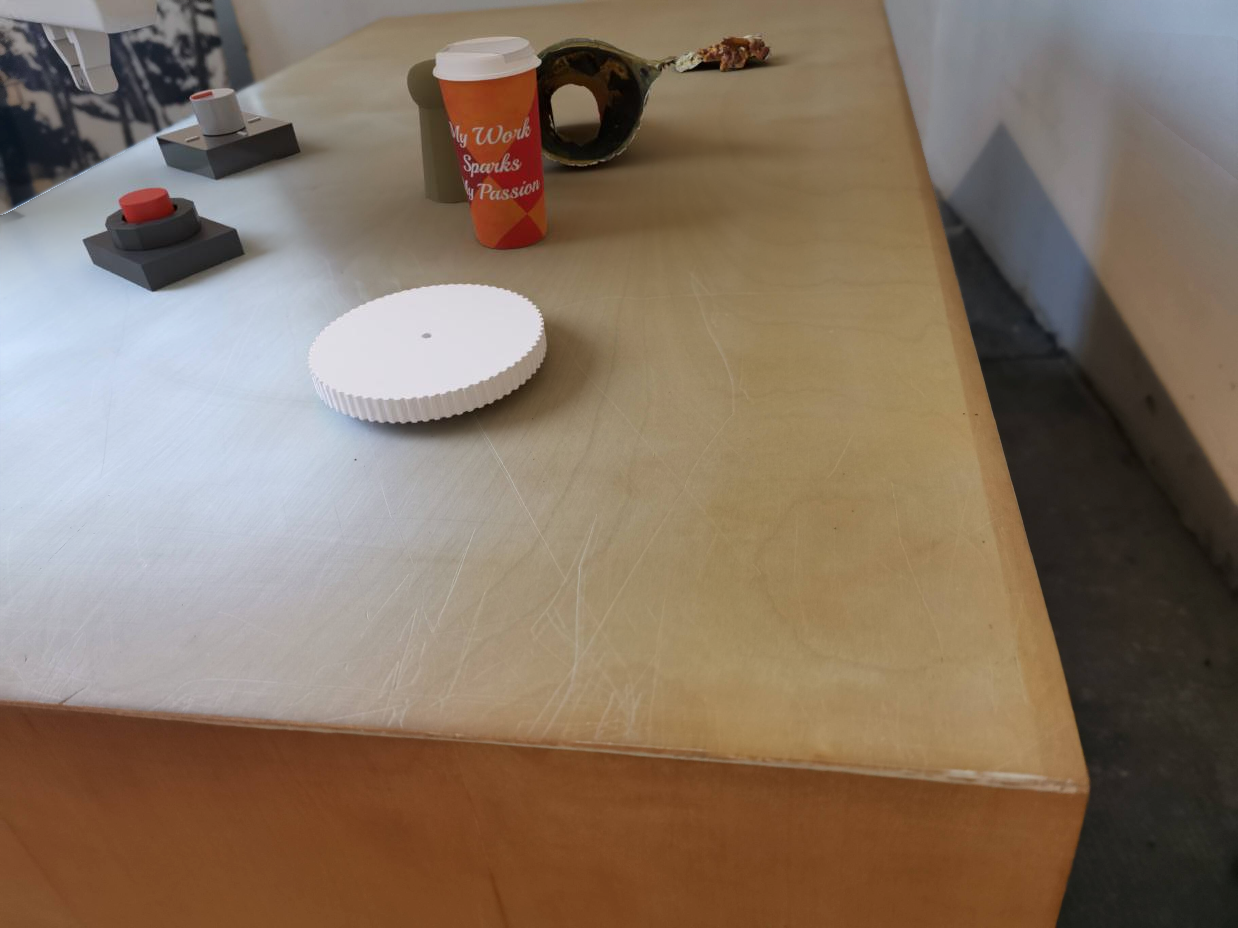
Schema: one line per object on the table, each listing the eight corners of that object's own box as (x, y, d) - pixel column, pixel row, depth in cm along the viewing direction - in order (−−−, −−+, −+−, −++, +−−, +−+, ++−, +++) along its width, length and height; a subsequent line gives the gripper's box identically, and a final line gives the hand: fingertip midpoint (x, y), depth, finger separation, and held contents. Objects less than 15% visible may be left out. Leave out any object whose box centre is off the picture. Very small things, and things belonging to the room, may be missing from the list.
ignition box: (93, 264, 71) (71, 217, 69) (183, 231, 76) (165, 186, 73) (152, 292, 66) (130, 242, 63) (245, 254, 70) (228, 207, 68)
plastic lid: (591, 380, 51) (587, 342, 49) (365, 469, 45) (353, 430, 44) (488, 298, 61) (482, 265, 59) (291, 364, 55) (279, 329, 54)
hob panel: (166, 165, 92) (154, 135, 90) (249, 139, 98) (240, 110, 96) (216, 180, 86) (204, 148, 84) (300, 151, 92) (291, 121, 90)
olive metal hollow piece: (631, 20, 90) (651, -16, 73) (675, 125, 94) (703, 114, 77) (484, 96, 91) (470, 78, 74) (533, 197, 95) (531, 201, 78)
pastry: (669, 64, 111) (668, 34, 109) (760, 54, 112) (761, 23, 110) (680, 77, 106) (679, 45, 104) (776, 66, 107) (777, 34, 104)
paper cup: (452, 254, 67) (413, 62, 59) (480, 217, 73) (449, 37, 65) (549, 255, 66) (523, 57, 57) (570, 216, 72) (549, 32, 63)
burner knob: (231, 121, 93) (218, 83, 90) (253, 126, 90) (241, 87, 88) (193, 132, 90) (179, 94, 88) (215, 138, 88) (202, 98, 85)
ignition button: (119, 220, 68) (109, 199, 67) (161, 205, 70) (153, 184, 69) (140, 229, 66) (131, 207, 65) (184, 213, 69) (175, 192, 68)
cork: (465, 174, 82) (443, 50, 76) (504, 187, 79) (484, 57, 72) (412, 193, 79) (384, 65, 72) (450, 207, 76) (424, 74, 69)
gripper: (-106, -130, 58) (-2, 87, 66) (16, -142, 47) (122, 119, 55) (-7, -139, 62) (79, 68, 70) (127, -152, 51) (211, 95, 59)
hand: (99, 91), depth 63 cm, fingers closed
